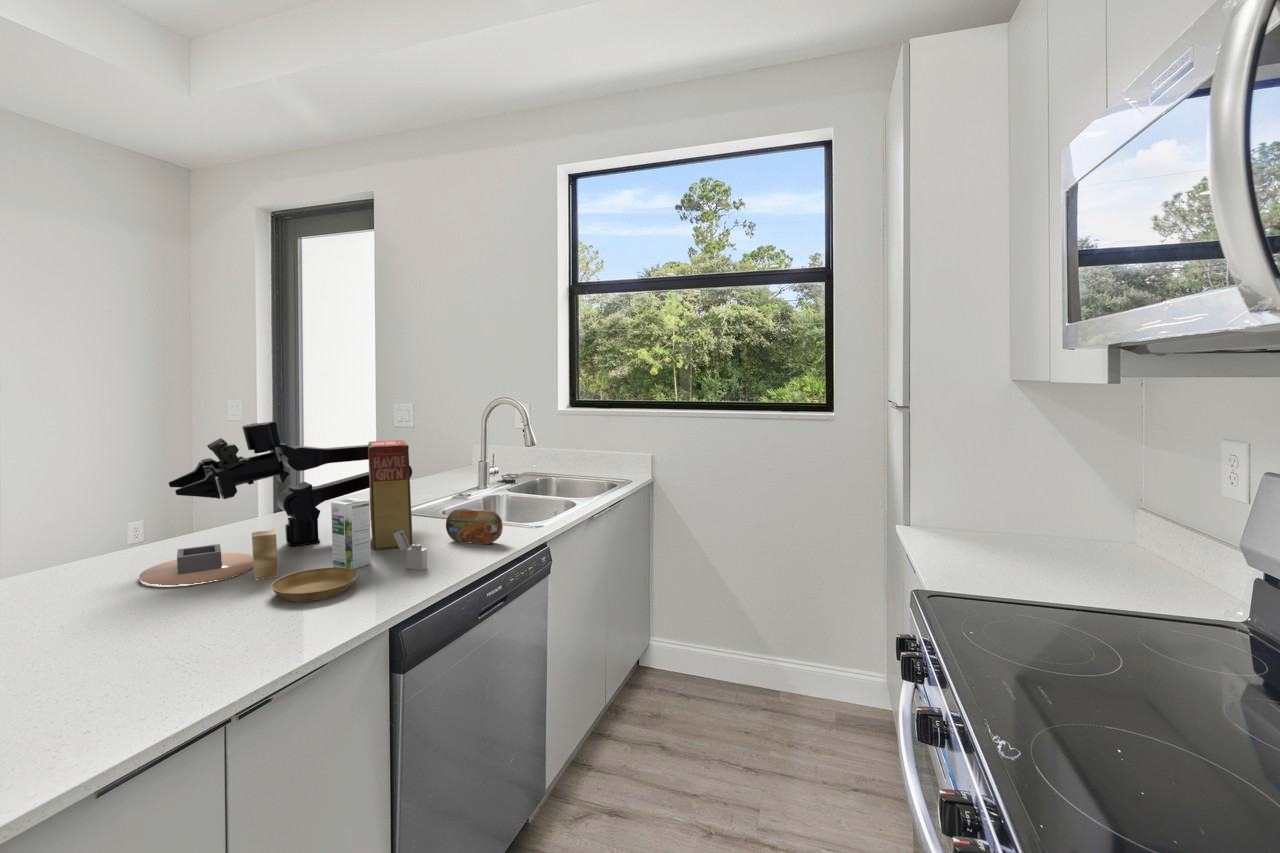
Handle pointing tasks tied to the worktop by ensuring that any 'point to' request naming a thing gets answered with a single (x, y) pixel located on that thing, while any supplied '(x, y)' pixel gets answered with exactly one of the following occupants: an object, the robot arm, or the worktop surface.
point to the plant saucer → (314, 584)
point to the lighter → (412, 552)
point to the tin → (474, 526)
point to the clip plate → (198, 566)
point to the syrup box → (351, 533)
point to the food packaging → (389, 492)
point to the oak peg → (264, 554)
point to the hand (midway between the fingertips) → (172, 488)
